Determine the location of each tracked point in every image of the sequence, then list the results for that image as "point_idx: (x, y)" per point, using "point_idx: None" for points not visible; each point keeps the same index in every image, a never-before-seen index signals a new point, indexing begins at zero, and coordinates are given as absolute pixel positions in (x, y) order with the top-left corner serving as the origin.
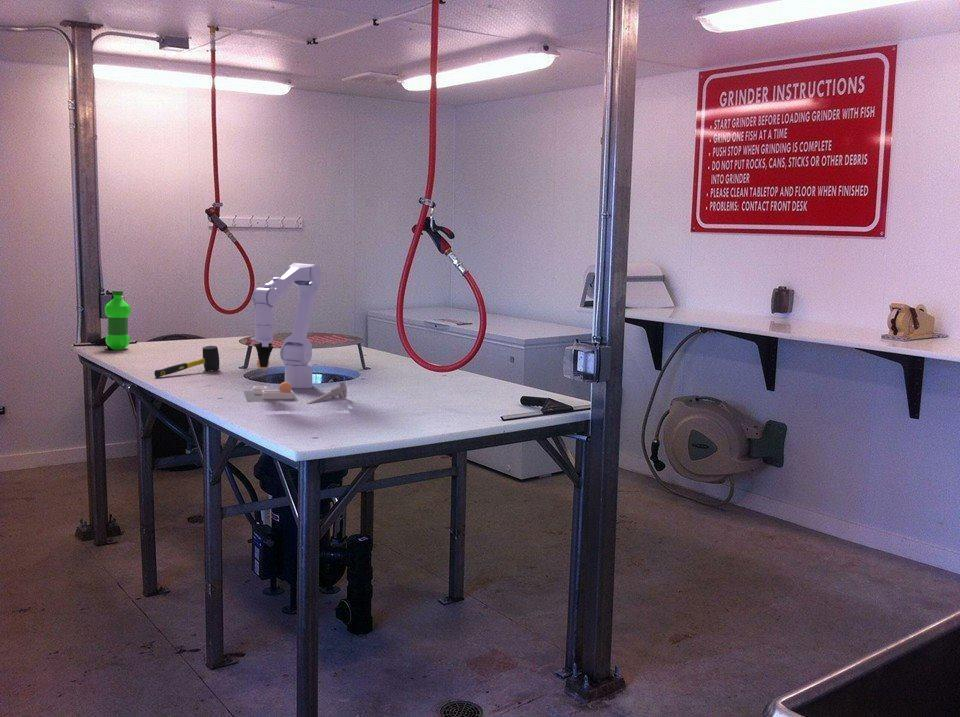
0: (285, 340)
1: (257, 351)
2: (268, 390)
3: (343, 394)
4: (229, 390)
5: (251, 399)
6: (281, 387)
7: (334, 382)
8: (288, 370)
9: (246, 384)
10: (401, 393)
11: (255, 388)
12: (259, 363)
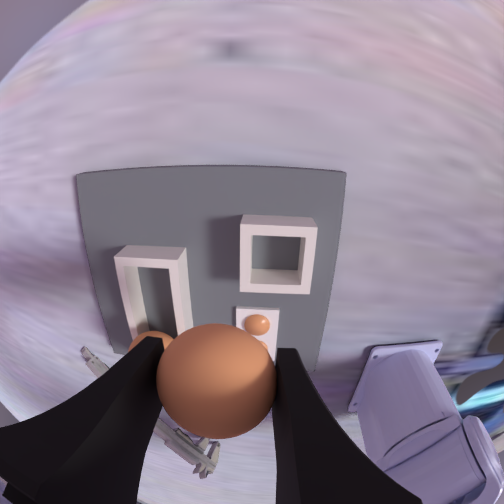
0: (493, 492)
1: (74, 437)
2: (178, 289)
3: (212, 450)
4: (435, 126)
5: (113, 193)
6: (132, 344)
7: None
8: (407, 412)
9: None
10: (274, 491)
11: (240, 232)
12: (163, 353)
